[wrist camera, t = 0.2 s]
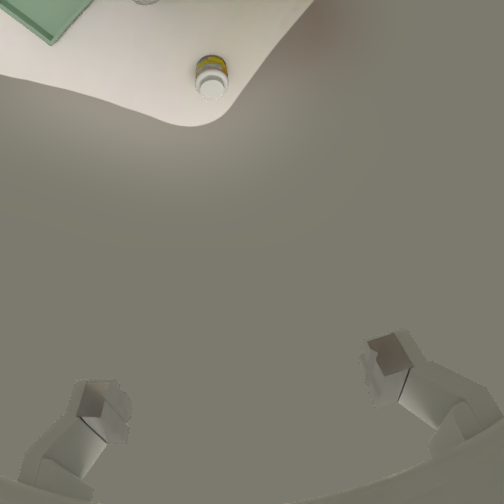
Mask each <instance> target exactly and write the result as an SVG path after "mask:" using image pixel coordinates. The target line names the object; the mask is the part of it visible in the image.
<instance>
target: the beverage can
mask: <svg viewBox="0 0 504 504" xmlns="http://www.w3.org/2000/svg"><path fill="white" fill-rule="evenodd" d="M133 1H134V2H135V3H137V4H140V5H151V4H154V3H156V2H157V1H159V0H133Z"/></svg>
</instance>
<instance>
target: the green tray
mask: <svg viewBox="0 0 504 504" xmlns="http://www.w3.org/2000/svg"><path fill="white" fill-rule="evenodd" d="M93 1H94V0H0V8H1V9H2V10H3V11H5V12H6V13H7V14H9V15H10V16H11V17H13V18H14V19H15V20H17V21H18V22H19V23H21V24H22V25H23V26H25V27H26V28H27V29H29V30H30V31H31V32H33V33H34V34H35V35H37V36H38V37H39V38H41V39H42V40H43V41H45V42H46V43H47V44H48V45H50V46H52V45H53V44H54V43H56V42H57V41H58V39H59V38H60V37H61V36H62V34H63V33H64V32H65V31H66V30H67V29H68V27H69V26H70V25H71V24H72V23H73V22H74V21H75V20H76V18H77V17H78V16H79V15H80V14H81V13H82V12H83V11H84V10H85V9H86V8H87V7H88V6H89V5H90V4H91V3H92V2H93Z"/></svg>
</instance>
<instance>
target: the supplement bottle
mask: <svg viewBox="0 0 504 504" xmlns="http://www.w3.org/2000/svg"><path fill="white" fill-rule="evenodd" d="M195 87H196V89H197V91H198V92H199V93H200V94H201V95H202V97H203V98H205V99H207V100H216V99H218V98H220V97H221V96H222V95H223V93H224V92H225V91H226V90H227V88H228V75H227V67H226V63H225V62H224V60H223V59H222V58H220V57H218V56H215V55H210V56H206V57H204V58H202V59H201V60H200V61H199V62H198V64H197V68H196V80H195Z"/></svg>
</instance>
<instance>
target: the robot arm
mask: <svg viewBox="0 0 504 504" xmlns="http://www.w3.org/2000/svg"><path fill="white" fill-rule="evenodd" d="M361 349H362V351H363V354H362V355H361V356H360V359H359V367H360V373H361V376H362V379H363V381H364V383H366V384H367V385H369V386H370V388H369V395H370V398H371V400H372V403H373V405H374V407H375V408H378V407H381V406H385V405H388V404H391V403H394V402H397V401H398V403H400V404H401V405H402V406H404V407H405V408H407V409H408V410H409V411H411V412H412V413H413V414H415V415H416V416H418V417H419V418H420V419H422V420H423V421H425V422H426V423H427V424H429V425H430V426H431V427H433V428H434V429H436V432H435V433H434V434H433V436H432V437H431V438H430V440H429V442H428V444H427V446H428V448H429V450H430V453H431V455H432V458H431V459H429V460H426V461H424V462H422V463H420V464H417V465H415V466H413V467H410V468H408V469H405V470H403V471H401V472H398V473H395V474H393V475H390V476H387V477H385V478H382V479H379V480H376V481H373V482H370V483H367V484H364V485H361V486H358V487H354V488H351V489H347V490H344V491H340V492H336V493H333V494H328V495H324V496H320V497H315V498H311V499H306V500H301V501H296V502H290V503H284V504H504V416H503V414H502V412H501V410H500V409H499V407H498V406H497V404H496V402H495V401H494V399H493V397H492V396H491V394H490V392H489V391H488V389H487V388H486V387H484V386H482V385H480V384H478V383H476V382H474V381H472V380H470V379H468V378H466V377H464V376H462V375H460V374H458V373H456V372H454V371H452V370H450V369H448V368H446V367H444V366H442V365H440V364H438V363H436V362H434V361H430V362H428V360H427V359H426V357H425V355H424V354H423V353H422V351H421V349H420V348H419V346H418V344H417V343H416V341H415V340H414V338H413V337H412V335H411V334H410V332H409V331H408V329H406V328H402V329H398V330H395V331H392V332H388V333H384V334H381V335H378V336H374V337H371V338H367V339H364V340H363V341H362V344H361ZM131 415H132V405H131V401H130V398H129V397H128V395H127V394H126V393H125V392H123V391H121V390H120V384H119V383H118V382H117V381H116V380H77V381H76V382H75V384H74V388H73V390H72V393H71V397H70V400H69V403H68V406H67V409H66V412H65V415H64V416H61V417H60V418H59V419H58V420H57V421H56V422H55V423H54V424H53V425H52V426H51V427H50V428H49V429H48V430H47V431H46V432H45V433H44V434H43V435H42V436H41V437H40V438H39V439H38V440H37V441H36V442H35V443H34V444H33V445H32V446H31V447H30V448H29V449H28V450H27V451H26V452H25V454H24V458H23V462H22V465H21V469H20V473H19V477H18V481H15V480H13V479H10V478H7V477H5V476H2V475H0V504H103V503H97V502H92V498H93V490H94V489H93V487H92V486H91V485H89V484H88V483H86V482H85V481H83V480H82V479H83V478H84V476H85V475H86V473H87V472H88V471H89V469H90V468H91V467H92V465H93V464H94V462H95V461H96V459H97V458H98V457H99V455H100V454H101V452H102V451H103V450H104V448H105V447H106V445H107V443H117V444H118V443H120V444H127V441H128V434H129V426H128V425H127V422H128V420H129V419H130V418H131Z"/></svg>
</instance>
